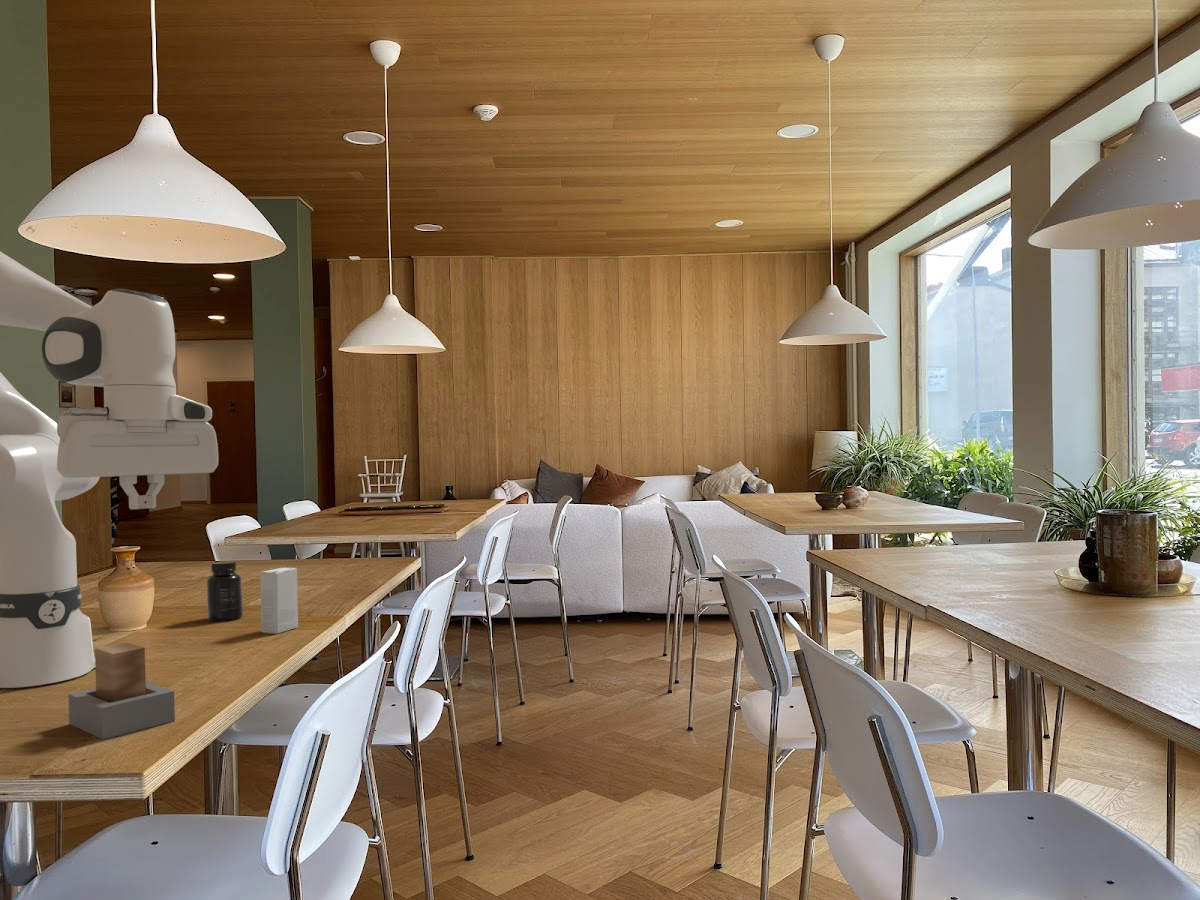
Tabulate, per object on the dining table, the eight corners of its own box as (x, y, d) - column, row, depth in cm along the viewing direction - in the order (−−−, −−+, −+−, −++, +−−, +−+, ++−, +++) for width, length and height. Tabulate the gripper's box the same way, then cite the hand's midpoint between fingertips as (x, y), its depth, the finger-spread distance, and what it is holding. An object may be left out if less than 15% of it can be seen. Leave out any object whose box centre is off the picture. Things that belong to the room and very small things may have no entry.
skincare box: (281, 626, 178) (280, 566, 178) (299, 628, 176) (298, 567, 176) (259, 633, 172) (258, 571, 172) (277, 634, 170) (276, 572, 170)
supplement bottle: (247, 615, 191) (246, 559, 191) (235, 621, 184) (234, 564, 184) (215, 615, 190) (214, 560, 190) (202, 622, 184) (200, 565, 183)
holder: (69, 724, 117) (68, 694, 117) (139, 707, 124) (138, 678, 124) (103, 739, 111) (102, 707, 111) (174, 720, 118) (174, 691, 118)
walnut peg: (114, 730, 114) (112, 653, 114) (96, 722, 118) (95, 648, 117) (146, 722, 117) (144, 647, 117) (128, 715, 121) (126, 642, 121)
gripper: (66, 405, 111) (68, 515, 111) (223, 408, 127) (224, 504, 127) (47, 407, 115) (49, 513, 115) (201, 410, 131) (203, 503, 131)
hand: (142, 508), depth 121 cm, fingers closed
